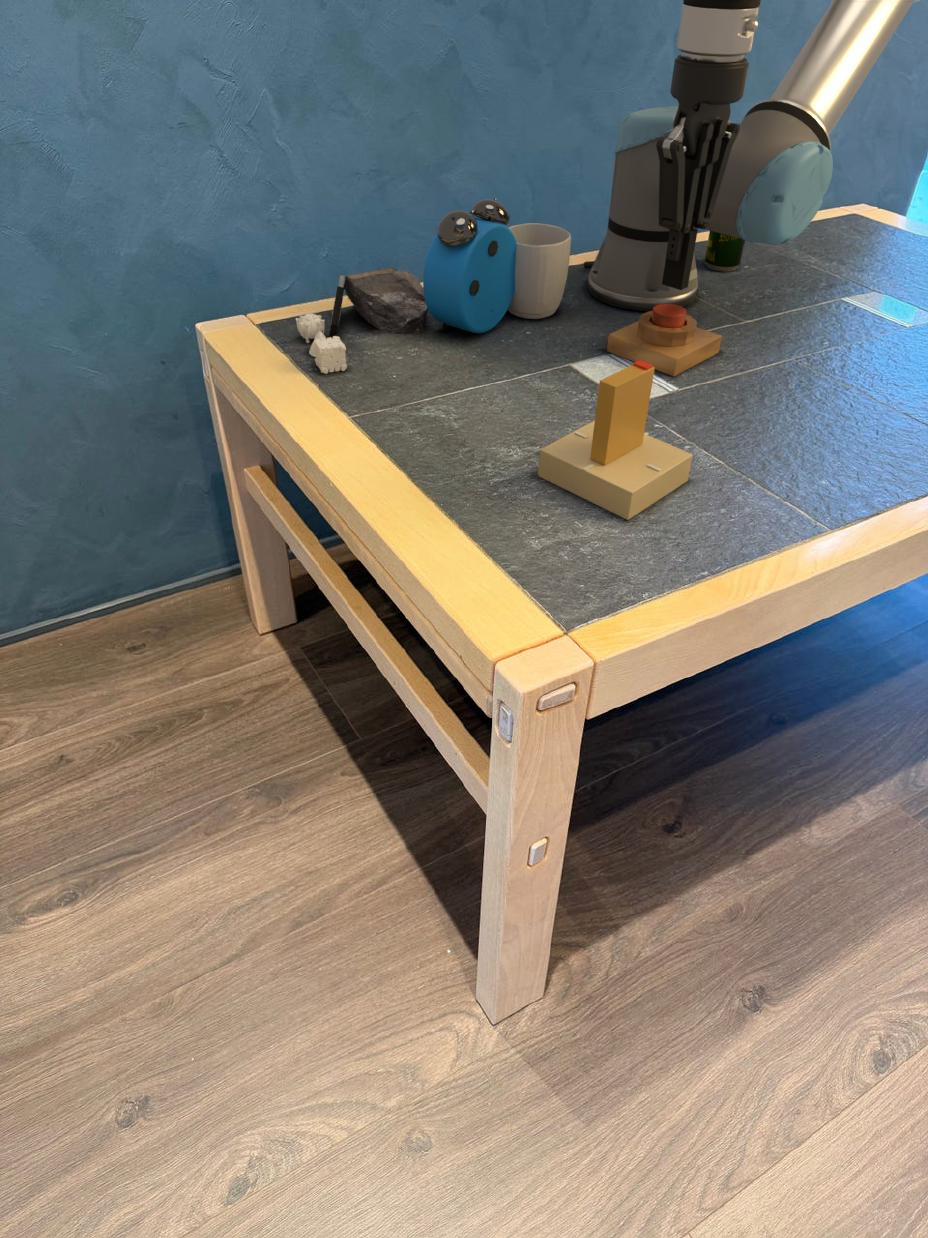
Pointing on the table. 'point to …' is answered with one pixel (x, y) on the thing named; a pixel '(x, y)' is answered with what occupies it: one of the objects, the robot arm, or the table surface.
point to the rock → (389, 300)
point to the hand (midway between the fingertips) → (674, 285)
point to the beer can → (723, 252)
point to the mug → (539, 269)
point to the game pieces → (322, 344)
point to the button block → (664, 344)
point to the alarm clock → (471, 268)
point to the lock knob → (621, 412)
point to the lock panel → (615, 472)
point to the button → (668, 316)
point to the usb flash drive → (337, 308)
